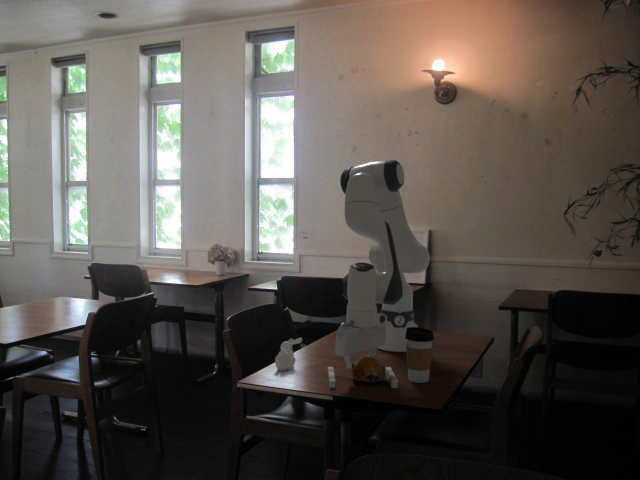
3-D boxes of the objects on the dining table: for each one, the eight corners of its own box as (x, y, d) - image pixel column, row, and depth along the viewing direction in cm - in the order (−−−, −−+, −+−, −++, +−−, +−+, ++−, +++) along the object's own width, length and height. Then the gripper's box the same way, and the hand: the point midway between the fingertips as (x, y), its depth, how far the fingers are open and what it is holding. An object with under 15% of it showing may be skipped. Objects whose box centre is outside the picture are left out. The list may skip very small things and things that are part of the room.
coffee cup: (413, 373, 176) (414, 325, 175) (438, 379, 170) (439, 329, 169) (398, 380, 169) (399, 329, 168) (424, 386, 164) (425, 334, 163)
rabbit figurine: (282, 361, 187) (282, 332, 187) (304, 363, 186) (305, 333, 185) (271, 372, 176) (271, 341, 175) (295, 374, 174) (295, 342, 173)
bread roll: (385, 389, 170) (387, 362, 173) (382, 382, 161) (385, 353, 164) (352, 386, 172) (355, 359, 175) (348, 378, 163) (351, 351, 166)
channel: (327, 373, 175) (327, 366, 175) (390, 373, 175) (390, 367, 175) (329, 388, 161) (329, 381, 161) (397, 388, 161) (398, 381, 161)
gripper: (347, 325, 159) (346, 374, 160) (390, 315, 174) (389, 360, 175) (330, 322, 163) (329, 370, 164) (373, 312, 178) (372, 356, 179)
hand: (360, 365), depth 170 cm, fingers open, 8 cm apart
